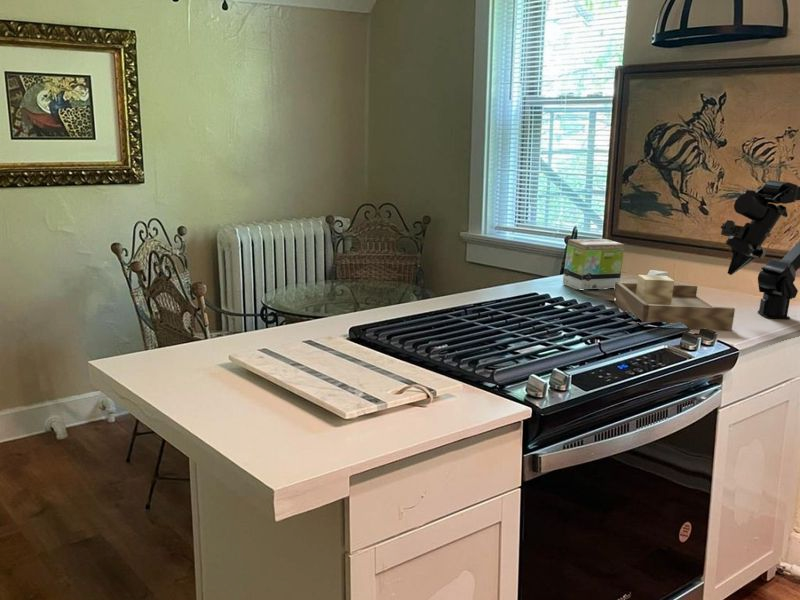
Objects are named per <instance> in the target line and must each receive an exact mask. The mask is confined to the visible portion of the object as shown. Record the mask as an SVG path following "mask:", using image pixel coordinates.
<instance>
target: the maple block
mask: <svg viewBox="0 0 800 600" xmlns="http://www.w3.org/2000/svg"><path fill="white" fill-rule="evenodd" d="M636 283H637V289H636V295H637V296H638V297H639V298H641V299H642V300H643V301H644V302H646V303H647V304H657V305H671V301H672V294H673V287H674V284H675V280H674V279H672V278H671V277H670V278H669V277H668V276H657V275H647V274H638V275H637V281H636Z"/></svg>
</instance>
